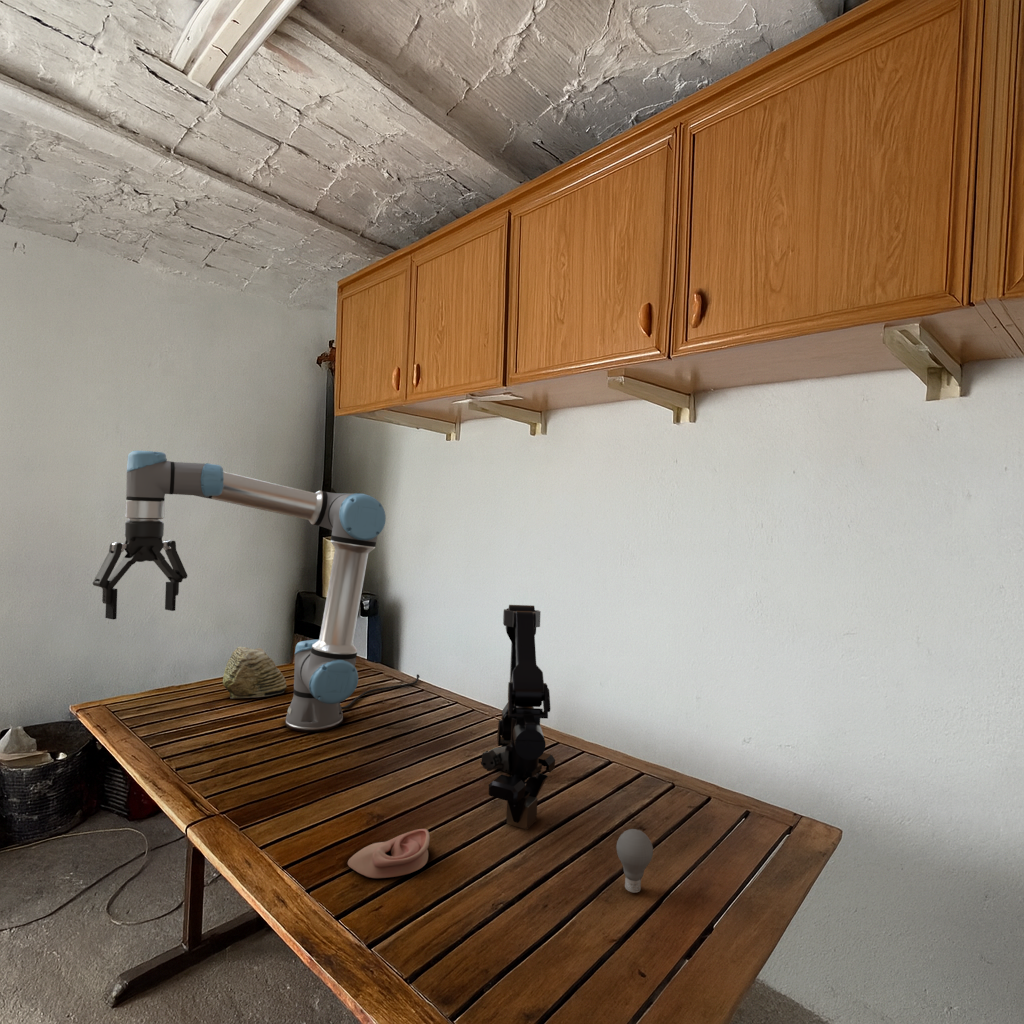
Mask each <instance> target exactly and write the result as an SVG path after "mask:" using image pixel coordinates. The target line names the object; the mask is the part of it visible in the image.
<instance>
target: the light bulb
mask: <svg viewBox="0 0 1024 1024" xmlns="http://www.w3.org/2000/svg"><path fill="white" fill-rule="evenodd" d="M615 849H616V854H617V857H618V859H619V861H620V863H621V865H622V867H623V873H624V874H623V875H624V876H625V878H624V888H625V890H627V891H628V892H630V893H634V894H635V893H639V892H640V891H641V889H642V887H641V886H642V879H643V877H644V875H645V871H646V868H647V867H648V866H649V864H650V863H651V861H652V859H653V855H654V847H653V843H652V841H651V838H649V836H648V835H647V834H646V833H645V832H643V831H642V830H641V829H636V828H629V829H627V830H625V831H623V832H622V833H621V834H620V835H619V837H618V839H617V841H616V847H615Z"/></svg>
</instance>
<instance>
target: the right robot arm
mask: <svg viewBox="0 0 1024 1024" xmlns="http://www.w3.org/2000/svg"><path fill="white" fill-rule="evenodd" d="M535 607H536V606H535V605H529V604H527V605H526V604H508V607H507V608H504V609H503V615H502V621H503V622H502V623H503V627H505V631H506V635H507V637H508V638H509V640H510V642H511V643H510V664H509V665H510V667H509V682H508V684H507V702H506V704H505V706H504V707H503V708H502V710H501V719H498V724H497V737H496V738H497V746H498V747H494V748H492V749H490V750H485V751H484V752H482V755H481V761H480V765H481V766H482V768H483V769H484V770H486V771H487V772H491V771H492V770H499V771H502V772H504V773H507V774H508V775H506V774H500V775H499V776H497V777H496V778H495V779H494V780H492V781H491V782H489V784H488V793H487V794H488V796H490V797H492V798H496V799H499V800H503V801H506V802H507V801H508V804H509V807H510V811H511V814H512V818H513V821H514V822H516V823H518V822H519V821H520V819H521V816H522V813H523V811H524V808H525V805H526V803H527V800H528V797H529V796H532V797H535V798H537V799H538V796H539V794H540V792H541V790H542V788H543V786H544V784H545V783H546V781H547V779H548V777H549V775H548V774H545V773H542V772H543V771H542V769H543V767H545V771H546V772H547V773H549V774H550V773H552V772H553V771H554V770H555V768H556V759H555V757H554V756H553V754H551V753H547V752H545V750H546V746H547V745H546V739H545V736H544V732H543V730H542V729H543V728H542V726H541V719H549V713H551V696H550V689H549V688H548V684H547V683H546V682H544V681H545V680H544V673H543V670H542V669H541V668H540V667H539V666H538V664H537V654H536V653H537V651H536V635H537V628H540V627H541V611H540V610H539V609H538V610H537V609H535ZM541 706H542V707H543V708H541ZM509 775H510V776H509Z"/></svg>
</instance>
